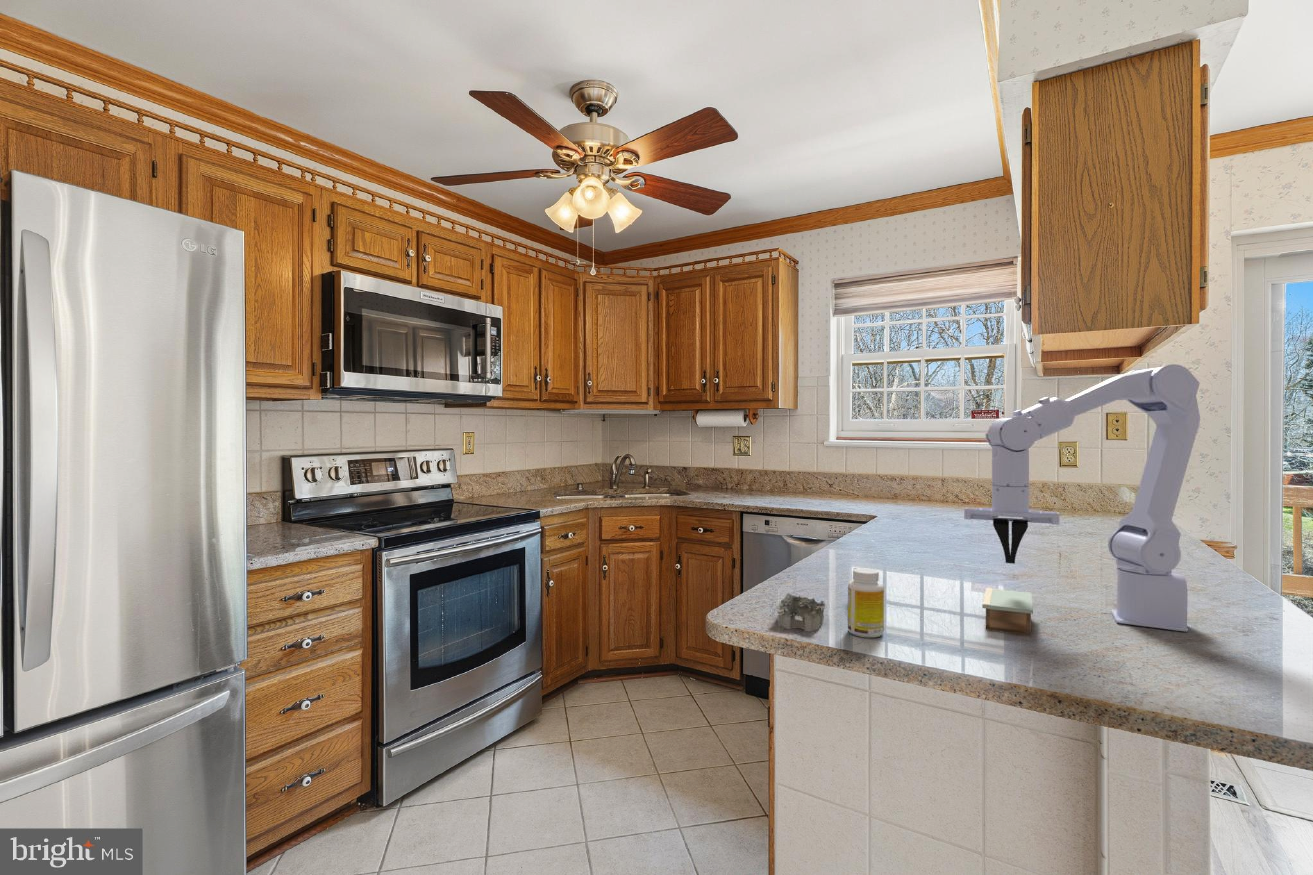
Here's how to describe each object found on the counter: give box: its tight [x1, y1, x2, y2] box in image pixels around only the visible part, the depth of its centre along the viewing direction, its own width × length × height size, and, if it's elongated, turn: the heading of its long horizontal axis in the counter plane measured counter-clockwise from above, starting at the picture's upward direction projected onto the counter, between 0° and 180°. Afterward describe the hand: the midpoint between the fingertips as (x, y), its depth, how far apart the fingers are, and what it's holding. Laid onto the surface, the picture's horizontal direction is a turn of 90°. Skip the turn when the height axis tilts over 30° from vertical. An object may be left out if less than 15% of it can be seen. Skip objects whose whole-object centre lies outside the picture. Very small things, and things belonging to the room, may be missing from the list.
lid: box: [982, 587, 1034, 615], centre depth 106 cm, size 7×12×1 cm, turn 150°
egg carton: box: [775, 593, 826, 632], centre depth 107 cm, size 11×8×4 cm
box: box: [985, 608, 1032, 637], centre depth 106 cm, size 6×12×4 cm, turn 150°
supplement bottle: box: [847, 567, 885, 639], centre depth 101 cm, size 6×6×10 cm
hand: (1010, 562), depth 110 cm, fingers closed
